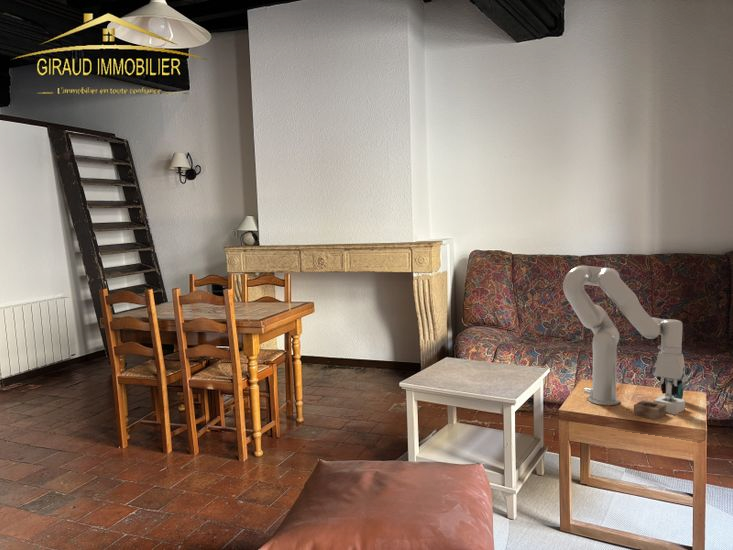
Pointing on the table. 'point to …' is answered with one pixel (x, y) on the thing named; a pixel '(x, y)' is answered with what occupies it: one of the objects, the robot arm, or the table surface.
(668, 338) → the robot arm
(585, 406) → the table surface
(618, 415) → the table surface
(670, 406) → the block
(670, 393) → the steel peg
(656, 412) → the socket block
